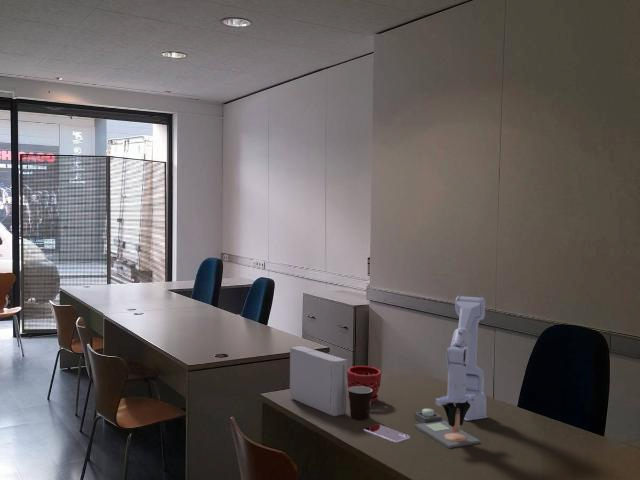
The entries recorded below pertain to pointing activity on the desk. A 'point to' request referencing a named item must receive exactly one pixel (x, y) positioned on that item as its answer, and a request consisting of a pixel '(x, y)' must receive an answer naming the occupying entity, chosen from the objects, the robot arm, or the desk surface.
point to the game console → (318, 380)
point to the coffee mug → (360, 402)
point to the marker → (456, 422)
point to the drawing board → (446, 434)
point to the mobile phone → (386, 433)
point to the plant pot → (365, 379)
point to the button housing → (422, 419)
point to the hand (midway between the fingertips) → (455, 425)
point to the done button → (428, 413)
